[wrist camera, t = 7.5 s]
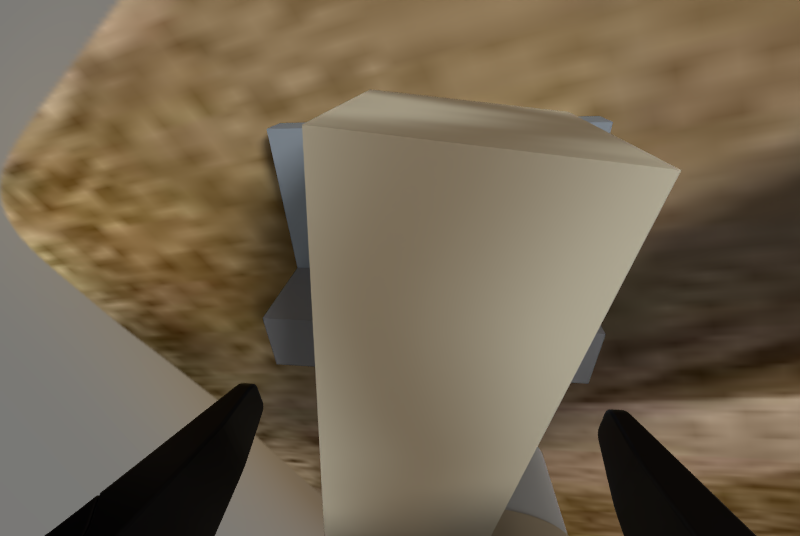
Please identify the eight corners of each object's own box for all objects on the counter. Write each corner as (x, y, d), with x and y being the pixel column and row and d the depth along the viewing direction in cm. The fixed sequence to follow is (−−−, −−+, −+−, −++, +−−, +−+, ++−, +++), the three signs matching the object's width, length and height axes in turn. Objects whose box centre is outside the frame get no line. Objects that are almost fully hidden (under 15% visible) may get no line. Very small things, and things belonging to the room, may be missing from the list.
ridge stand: (599, 115, 11) (671, 147, 7) (534, 388, 17) (556, 473, 13) (279, 123, 12) (211, 152, 8) (330, 374, 18) (303, 450, 15)
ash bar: (568, 112, 7) (681, 169, 4) (450, 480, 14) (451, 610, 11) (370, 89, 7) (301, 124, 4) (355, 463, 15) (327, 587, 11)
